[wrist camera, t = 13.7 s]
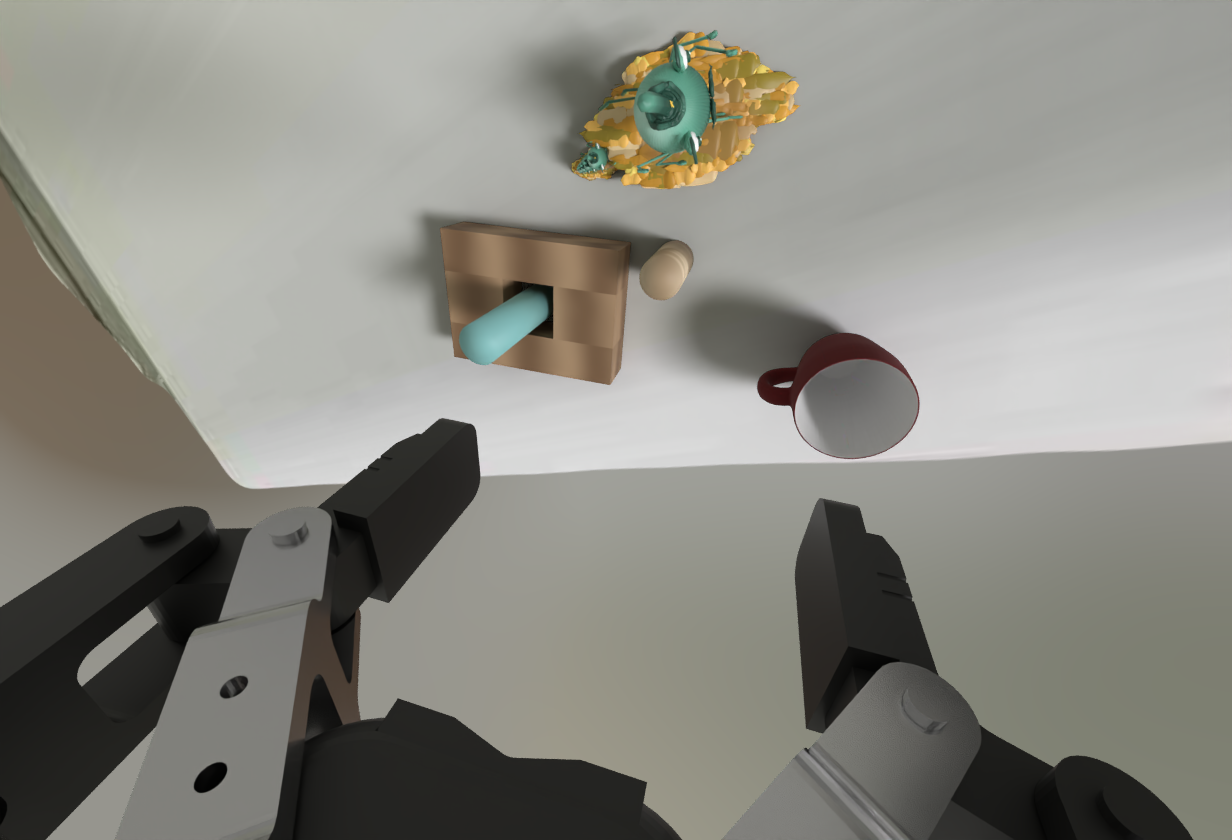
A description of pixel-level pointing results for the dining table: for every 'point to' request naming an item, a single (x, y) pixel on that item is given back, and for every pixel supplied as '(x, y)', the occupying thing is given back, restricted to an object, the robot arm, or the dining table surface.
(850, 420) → the mug
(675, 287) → the short pin
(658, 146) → the teal creature figurine
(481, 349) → the long pin
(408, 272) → the dining table surface
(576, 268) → the hole block
